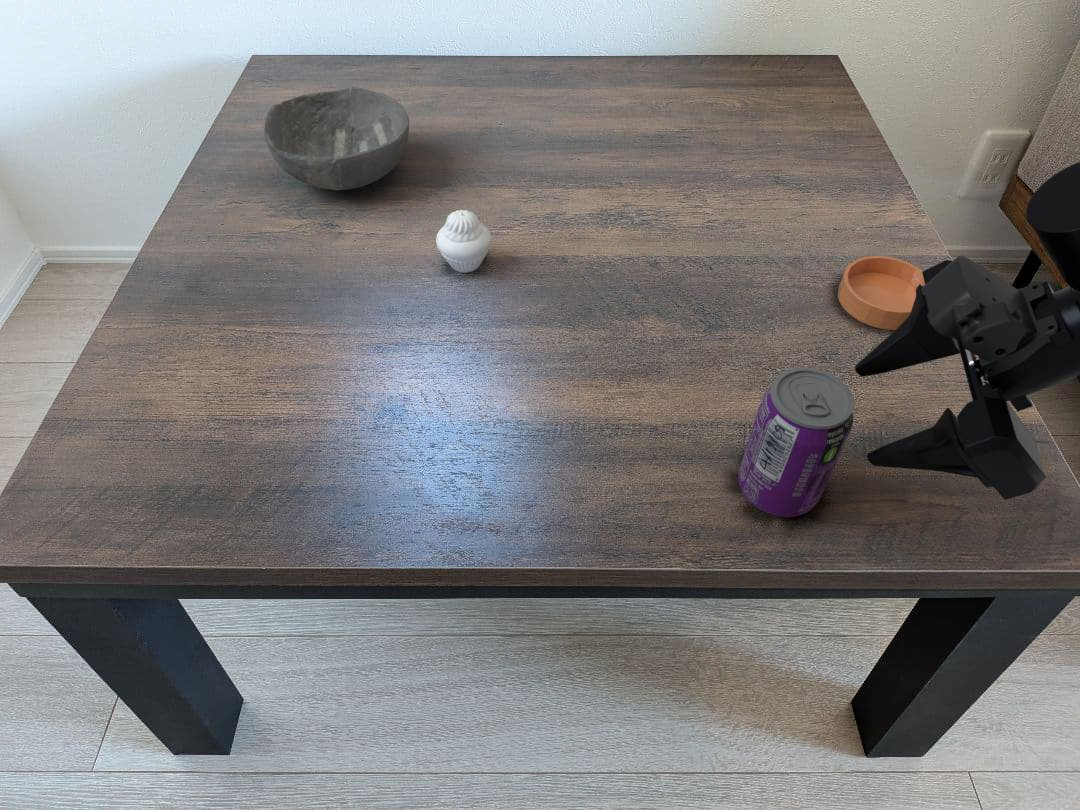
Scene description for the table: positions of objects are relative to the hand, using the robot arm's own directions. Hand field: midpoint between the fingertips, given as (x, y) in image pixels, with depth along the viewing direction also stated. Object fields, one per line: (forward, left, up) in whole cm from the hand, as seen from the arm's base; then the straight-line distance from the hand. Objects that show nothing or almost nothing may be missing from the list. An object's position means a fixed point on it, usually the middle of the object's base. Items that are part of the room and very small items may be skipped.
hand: (863, 413), depth 60 cm
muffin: (+39, -25, -11) cm, 48 cm away
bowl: (+59, -40, -11) cm, 72 cm away
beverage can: (+4, 0, -11) cm, 12 cm away
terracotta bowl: (-7, -28, -11) cm, 31 cm away
